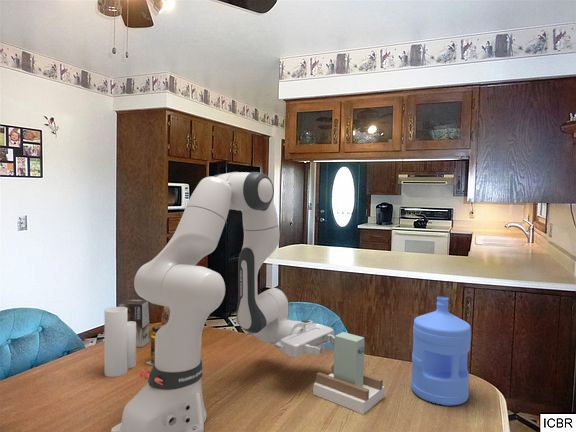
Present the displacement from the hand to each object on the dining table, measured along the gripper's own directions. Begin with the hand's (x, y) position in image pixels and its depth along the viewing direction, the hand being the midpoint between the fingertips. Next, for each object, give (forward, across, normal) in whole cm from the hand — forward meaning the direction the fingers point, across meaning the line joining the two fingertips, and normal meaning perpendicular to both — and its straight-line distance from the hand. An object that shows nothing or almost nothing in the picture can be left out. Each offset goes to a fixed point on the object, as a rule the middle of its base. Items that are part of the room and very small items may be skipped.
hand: (330, 346), depth 118 cm
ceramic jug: (-67, -4, +13) cm, 69 cm away
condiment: (-53, -21, +13) cm, 59 cm away
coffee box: (-74, -19, +13) cm, 78 cm away
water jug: (+26, +19, +13) cm, 34 cm away
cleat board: (+7, 0, +12) cm, 14 cm away
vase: (-57, -34, +13) cm, 68 cm away
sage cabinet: (+6, 0, +10) cm, 11 cm away
